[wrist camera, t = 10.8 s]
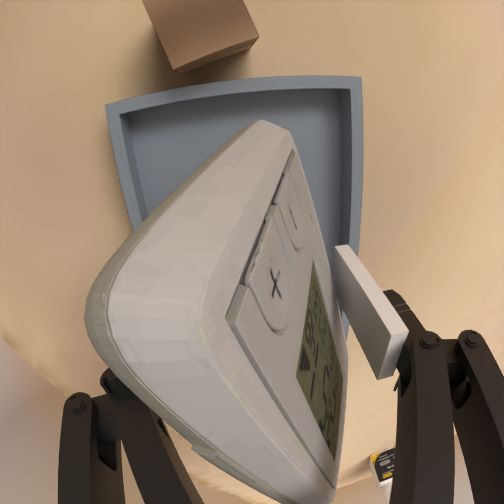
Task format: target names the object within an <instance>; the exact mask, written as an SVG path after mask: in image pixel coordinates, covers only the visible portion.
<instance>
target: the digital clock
mask: <svg viewBox="0 0 504 504" xmlns="http://www.w3.org/2000/svg"><path fill="white" fill-rule="evenodd" d="M84 320H85V324H86V329H87V333H88V336H89V338H90V340H91V342H92V344H93V346H94V348H95V349H96V351H97V353H98V354H99V356H100V357H101V358H102V359H103V361H104V362H105V363H106V364H107V366H108V367H109V368H110V369H111V370H112V371H113V373H114V374H115V375H116V376H117V377H118V378H119V379H120V380H121V381H122V382H123V383H124V384H125V385H126V386H127V387H128V388H129V389H130V390H131V391H132V392H133V393H134V394H135V395H136V396H137V397H139V398H140V399H141V400H142V401H143V402H144V403H145V404H146V405H147V406H148V407H149V408H151V409H152V410H153V411H154V412H155V413H156V414H157V415H158V416H160V417H161V418H162V419H163V420H164V421H165V422H167V423H168V424H169V425H170V426H171V427H172V428H174V429H175V430H176V431H177V432H178V433H179V434H181V435H182V436H183V437H184V438H185V439H186V440H188V441H189V442H190V443H191V444H192V447H191V450H193V451H194V452H195V453H197V454H198V455H200V456H201V457H203V458H204V459H206V460H207V461H209V462H210V463H212V464H213V465H215V466H216V467H218V468H219V469H221V470H223V471H224V472H226V473H227V474H229V475H231V476H232V477H234V478H236V479H237V480H239V481H241V482H242V483H244V484H246V485H248V486H249V487H251V488H253V489H255V490H257V491H258V492H260V493H262V494H264V495H266V496H268V497H270V498H272V499H274V500H276V501H278V502H280V503H282V504H329V503H331V502H332V501H333V500H334V496H335V492H336V486H337V480H338V473H339V466H340V458H341V450H342V441H343V432H344V422H345V410H346V397H347V381H348V350H347V345H346V339H345V334H344V329H343V324H342V319H341V314H340V310H339V305H338V300H337V296H336V291H335V287H334V283H333V278H332V274H331V270H330V266H329V262H328V258H327V254H326V250H325V246H324V242H323V238H322V234H321V230H320V226H319V223H318V219H317V215H316V212H315V208H314V204H313V201H312V197H311V194H310V190H309V187H308V183H307V180H306V177H305V173H304V170H303V167H302V164H301V161H300V157H299V154H298V151H297V148H296V145H295V142H294V140H293V137H292V135H291V133H290V132H289V131H288V130H286V129H284V128H282V127H280V126H278V125H275V124H273V123H270V122H268V121H265V120H258V121H255V122H253V123H250V124H248V125H247V126H245V127H244V128H242V129H241V130H240V131H238V132H237V133H236V134H235V135H233V136H232V137H231V138H230V139H229V140H228V141H227V142H225V143H224V144H223V145H222V146H221V147H220V148H219V149H217V150H216V151H215V152H214V153H213V154H212V155H211V156H210V157H209V158H207V159H206V160H205V161H204V162H203V163H202V164H201V165H200V166H199V167H198V168H197V169H195V170H194V171H193V172H192V173H191V174H190V175H189V176H188V177H187V178H186V179H185V180H184V181H183V182H182V183H181V184H180V185H179V186H178V187H177V188H176V189H174V190H173V191H172V192H171V193H170V194H169V195H168V196H167V197H166V198H165V199H164V200H163V201H162V202H161V203H160V204H159V205H158V206H157V207H156V208H155V209H154V210H153V211H152V212H151V213H150V214H149V216H148V217H147V218H146V219H145V220H144V221H143V222H142V223H141V224H140V225H139V226H138V227H137V228H136V229H135V230H134V231H133V232H132V233H131V234H130V236H129V237H128V238H127V239H126V240H125V241H124V243H123V244H122V245H121V246H120V247H119V249H118V250H117V251H116V252H115V253H114V255H113V256H112V257H111V258H110V260H109V261H108V262H107V263H106V265H105V266H104V268H103V269H102V271H101V272H100V273H99V275H98V276H97V278H96V279H95V281H94V283H93V285H92V287H91V290H90V292H89V294H88V296H87V299H86V307H85V316H84Z"/></svg>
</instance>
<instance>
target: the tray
mask: <svg viewBox="0 0 504 504" xmlns="http://www.w3.org/2000/svg"><path fill="white" fill-rule="evenodd" d="M105 109H106V115H107V120H108V126H109V132H110V137H111V142H112V147H113V152H114V157H115V161H116V166H117V170H118V175H119V179H120V183H121V187H122V192H123V196H124V200H125V203H126V207H127V211H128V215H129V219H130V222H131V226H132V229H133V231H134V230H135V229H136V228H137V227H138V226H139V225H140V224H141V223H142V222H143V221H144V220H145V219H146V218H147V217H148V216H149V214H150V213H151V212H152V211H153V210H154V209H155V208H156V207H157V206H158V205H159V204H160V203H161V202H162V201H163V200H164V199H165V198H166V197H167V196H168V195H169V194H170V193H171V192H172V191H173V190H174V189H176V188H177V187H178V186H179V185H180V184H181V183H182V182H183V181H184V180H185V179H186V178H187V177H188V176H189V175H190V174H191V173H192V172H193V171H194V170H195V169H197V168H198V167H199V166H200V165H201V164H202V163H203V162H204V161H205V160H206V159H207V158H209V157H210V156H211V155H212V154H213V153H214V152H215V151H216V150H217V149H219V148H220V147H221V146H222V145H223V144H224V143H225V142H227V141H228V140H229V139H230V138H231V137H232V136H233V135H235V134H236V133H237V132H238V131H240V130H241V129H242V128H244V127H245V126H247V125H248V124H250V123H253V122H255V121H258V120H265V121H268V122H270V123H273V124H275V125H278V126H280V127H282V128H284V129H286V130H288V131H289V132H290V133H291V135H292V137H293V140H294V142H295V145H296V148H297V151H298V154H299V157H300V161H301V164H302V167H303V170H304V173H305V177H306V180H307V183H308V187H309V190H310V194H311V197H312V201H313V204H314V208H315V212H316V215H317V219H318V223H319V226H320V230H321V234H322V238H323V242H324V246H325V250H326V254H327V258H328V262H329V266H330V270H331V274H332V278H333V267H334V247H335V246H340V245H347V244H348V245H349V246H350V248H351V249H352V250H353V252H354V253H355V254H356V256H357V257H358V248H359V236H360V223H361V207H362V185H363V100H362V80H361V77H353V76H277V77H261V78H248V79H238V80H229V81H220V82H213V83H205V84H199V85H192V86H186V87H181V88H175V89H170V90H165V91H160V92H155V93H151V94H146V95H142V96H137V97H133V98H129V99H125V100H122V101H118V102H114V103H111V104H107V105H105ZM337 300H338V299H337ZM338 305H339V310H340V314H341V319H342V324H343V329H344V334H345V339H346V341H347V335H348V329H349V321H348V319H347V317H346V315H345V313H344V311H343V309H342V307H341V305H340V303H339V301H338Z"/></svg>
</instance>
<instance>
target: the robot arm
mask: <svg viewBox="0 0 504 504" xmlns="http://www.w3.org/2000/svg"><path fill="white" fill-rule="evenodd" d="M333 283H334V287H335V291H336V296H337V299H338V301H339V303H340V305H341V307H342V309H343V311H344V313H345V315H346V317H347V319H348V321H349V323H350V325H351V327H352V329H353V331H354V333H355V335H356V337H357V339H358V341H359V343H360V345H361V347H362V349H363V351H364V353H365V355H366V358H367V360H368V362H369V364H370V366H371V368H372V370H373V372H374V374H375V377H376V379H377V380H380V379H383V378H387V377H390V376H393V374H394V371H395V369H396V368H397V369H398V371H399V373H400V375H399V377H398V380H397V382H396V384H395V387H394V390H393V391H396V389H397V387H398V405H397V432H396V447H395V459H394V469H393V478H392V486H391V494H390V500H389V504H453V499H454V477H455V476H454V475H455V454H454V453H455V452H454V428H453V422H454V426H455V429H456V432H457V435H458V438H459V442H460V445H461V449H462V452H463V456H464V460H465V464H466V467H467V471H468V476H469V480H470V484H471V489H472V493H473V499H474V503H475V504H504V376H503V374H502V372H501V370H500V368H499V366H498V364H497V362H496V360H495V358H494V357H493V355H492V353H491V351H490V349H489V347H488V346H487V344H486V342H485V340H484V338H483V337H482V336H481V335H480V334H479V333H477V332H476V331H473V330H465V331H462V332H461V333H460V335H459V337H458V339H441V338H440V337H439V336H438V335H437V334H435V333H433V332H431V331H426V330H425V329H424V327H423V326H422V324H421V323H420V321H419V320H418V319H417V317H416V316H415V314H414V313H413V312H412V310H410V308H409V306H408V305H407V304H406V302H405V301H404V299H403V298H402V297H401V295H399V294H398V293H396V292H395V291H393V290H387V291H383V292H382V290H381V289H380V287H379V286H378V285H377V283H376V282H375V280H374V279H373V278H372V276H371V275H370V273H369V272H368V271H367V269H366V268H365V267H364V265H363V264H362V262H361V261H360V260H359V258H358V257H357V256H356V254H355V253H354V252H353V250H352V249H351V248H350V246H349V245H348V244H347V245H340V246H335V247H334V267H333ZM100 385H101V386H102V387H103V389H104V390H105V392H106V393H107V394H105V395H101V396H98V397H94V398H91V397H90V396H89V395H88V394H86V393H82V392H78V393H75V394H73V395H71V396H70V397H69V398H68V399H67V400H66V402H65V405H64V410H63V417H62V426H61V437H60V450H59V468H58V504H125V495H124V485H123V473H122V458H121V440H122V443H123V446H124V449H125V452H126V455H127V458H128V461H129V463H130V467H131V470H132V472H133V475H134V478H135V480H136V483H137V485H138V488H139V490H140V493H141V495H142V498H143V500H144V503H145V504H204V503H203V501H202V499H201V497H200V495H199V494H198V492H197V490H196V488H195V486H194V484H193V483H192V481H191V479H190V477H189V475H188V473H187V471H186V469H185V467H184V465H183V463H182V461H181V459H180V457H179V455H178V453H177V451H176V448H175V446H174V444H173V442H172V440H171V438H170V435H169V433H168V431H167V429H166V426H165V424H164V422H163V420H162V418H161V417H160V416H158V415H157V414H156V413H155V412H154V411H153V410H152V409H151V408H149V407H148V406H147V405H146V404H145V403H144V402H143V401H142V400H141V399H140V398H139V397H137V396H136V395H135V394H134V393H133V392H132V391H131V390H130V389H129V388H128V387H127V386H126V385H125V384H124V383H123V382H122V381H121V380H120V379H119V378H118V377H117V376H116V375H115V374H114V373H113V371H112V370H111V369H110V368H108V369H107V370H106V371H105V372H104V373H103V374H102V376H101V378H100Z"/></svg>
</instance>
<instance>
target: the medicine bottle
mask: <svg viewBox="0 0 504 504" xmlns="http://www.w3.org/2000/svg"><path fill="white" fill-rule="evenodd" d="M395 447H396V445H395V446H393V447H390V448H388V449H386V450H383V451H381V452H378V453H375V454H373V455H371V456H370V462H369V466H370V469H371V472H372V475H373V478H374V481H375V484H376V487H377V489H378V490H379V489H382V488H383V490H382V491H383V494H384V497H385V500H386V503H388V504H389V500H390V494H391V486H392V478H393V469H394V459H395Z"/></svg>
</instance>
